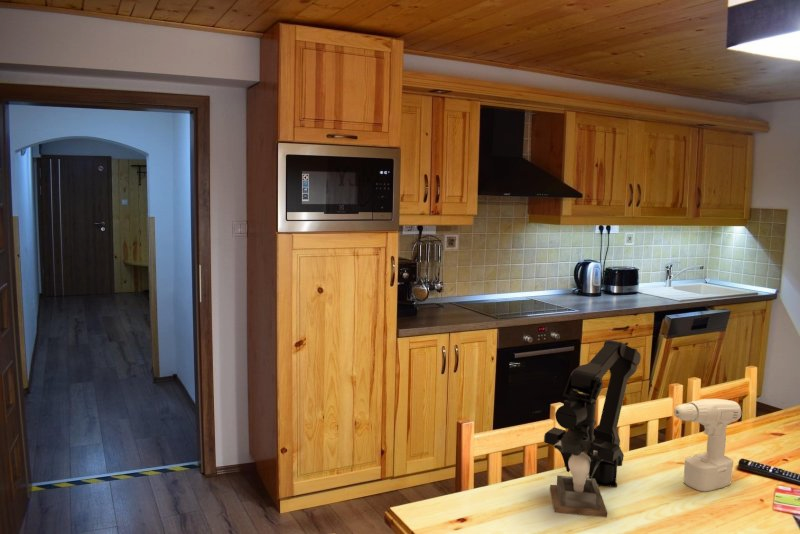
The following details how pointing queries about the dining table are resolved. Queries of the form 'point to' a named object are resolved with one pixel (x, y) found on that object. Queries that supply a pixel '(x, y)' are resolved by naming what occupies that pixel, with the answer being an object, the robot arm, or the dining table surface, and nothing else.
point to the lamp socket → (577, 498)
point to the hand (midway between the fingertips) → (579, 474)
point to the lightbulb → (579, 470)
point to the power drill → (709, 442)
